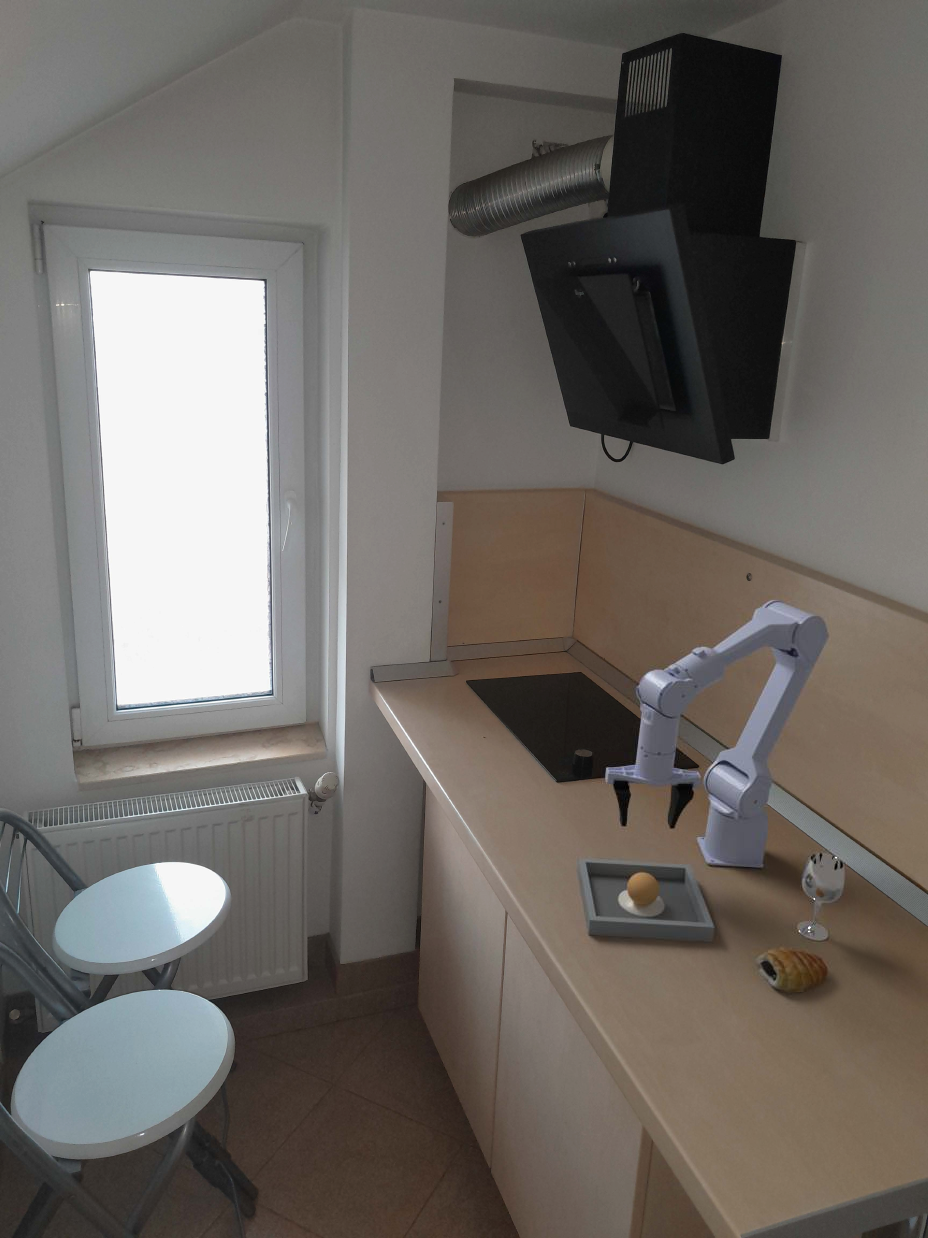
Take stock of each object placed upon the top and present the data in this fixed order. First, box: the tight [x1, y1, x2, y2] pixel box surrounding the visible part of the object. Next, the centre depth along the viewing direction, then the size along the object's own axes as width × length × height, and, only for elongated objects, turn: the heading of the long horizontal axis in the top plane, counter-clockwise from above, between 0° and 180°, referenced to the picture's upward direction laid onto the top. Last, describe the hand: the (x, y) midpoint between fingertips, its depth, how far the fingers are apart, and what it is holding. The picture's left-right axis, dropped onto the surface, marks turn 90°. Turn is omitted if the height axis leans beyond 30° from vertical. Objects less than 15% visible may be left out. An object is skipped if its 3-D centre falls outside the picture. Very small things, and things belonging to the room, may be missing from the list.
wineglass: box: [796, 852, 846, 942], centre depth 133 cm, size 6×6×12 cm
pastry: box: [755, 946, 829, 994], centre depth 124 cm, size 9×7×4 cm
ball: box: [627, 872, 659, 905], centre depth 138 cm, size 5×5×5 cm
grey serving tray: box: [576, 857, 716, 943], centre depth 138 cm, size 18×16×2 cm
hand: (646, 824), depth 143 cm, fingers open, 7 cm apart
